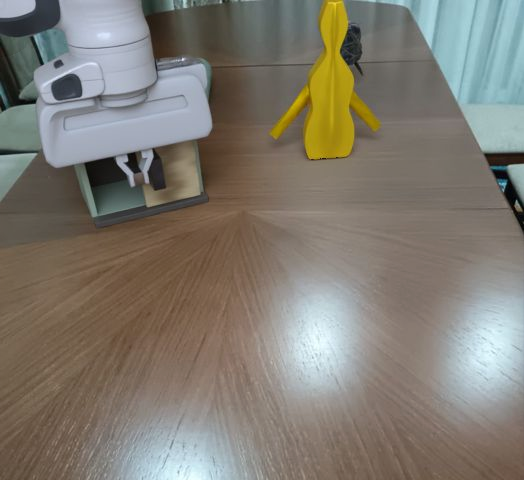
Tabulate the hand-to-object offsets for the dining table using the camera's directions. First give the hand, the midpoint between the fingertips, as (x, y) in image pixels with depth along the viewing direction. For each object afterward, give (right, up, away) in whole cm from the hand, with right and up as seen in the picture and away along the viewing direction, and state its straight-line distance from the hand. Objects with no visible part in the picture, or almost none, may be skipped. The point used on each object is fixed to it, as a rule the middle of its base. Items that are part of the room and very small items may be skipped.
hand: (139, 183), depth 72 cm
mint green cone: (+4, +25, +38) cm, 46 cm away
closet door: (+4, -1, +6) cm, 8 cm away
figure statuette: (+26, +10, +19) cm, 34 cm away
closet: (-2, +2, +12) cm, 12 cm away
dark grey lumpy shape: (+30, +31, +42) cm, 60 cm away
